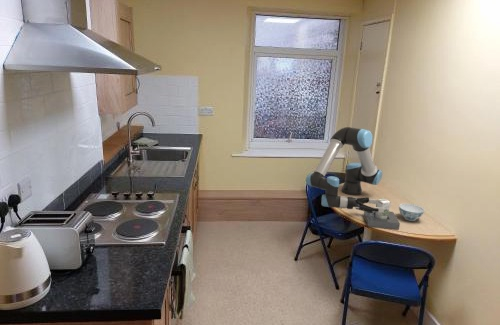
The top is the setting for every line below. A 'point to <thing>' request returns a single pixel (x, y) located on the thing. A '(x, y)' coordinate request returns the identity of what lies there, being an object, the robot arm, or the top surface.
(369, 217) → the collar
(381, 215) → the syrup box
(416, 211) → the chinaware
